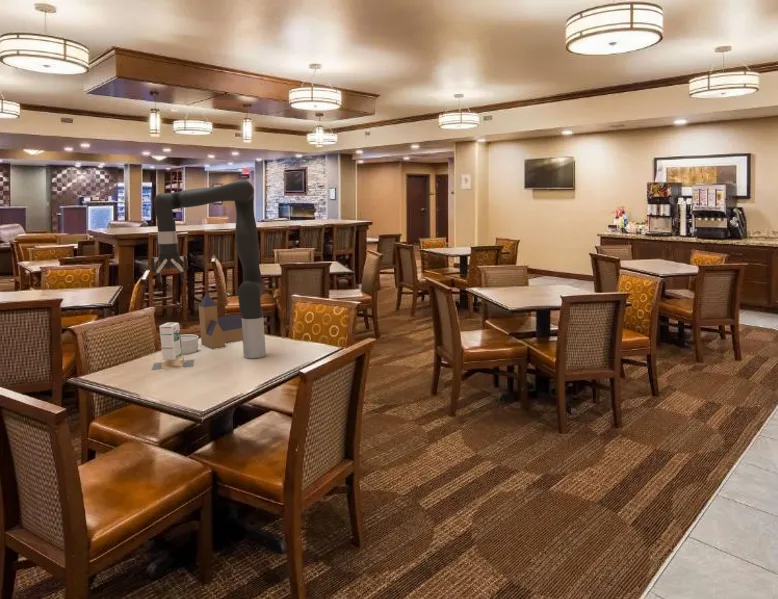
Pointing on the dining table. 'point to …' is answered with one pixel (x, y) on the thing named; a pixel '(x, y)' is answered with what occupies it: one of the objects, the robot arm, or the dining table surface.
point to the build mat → (186, 364)
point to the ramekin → (189, 343)
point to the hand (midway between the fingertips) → (171, 281)
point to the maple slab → (173, 363)
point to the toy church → (217, 325)
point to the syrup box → (170, 341)
